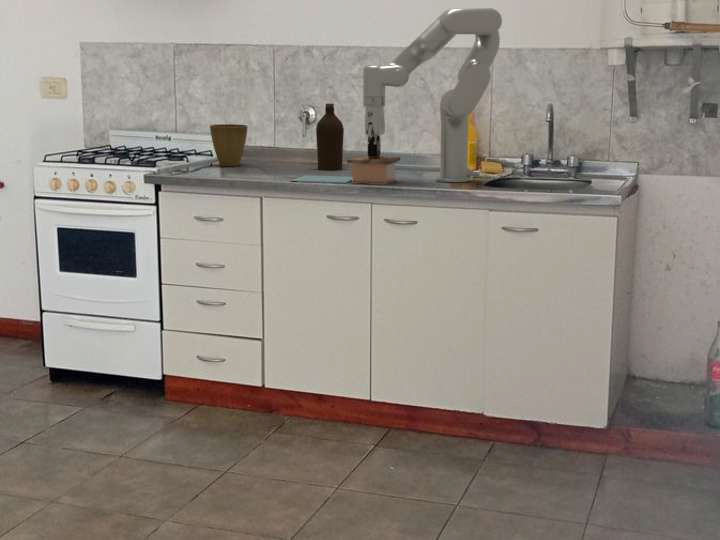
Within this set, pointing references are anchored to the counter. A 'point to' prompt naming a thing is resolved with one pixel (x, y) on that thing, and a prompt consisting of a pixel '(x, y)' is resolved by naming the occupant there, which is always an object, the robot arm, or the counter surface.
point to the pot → (373, 173)
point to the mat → (323, 179)
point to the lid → (374, 158)
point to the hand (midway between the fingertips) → (374, 155)
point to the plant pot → (228, 142)
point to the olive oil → (329, 140)
